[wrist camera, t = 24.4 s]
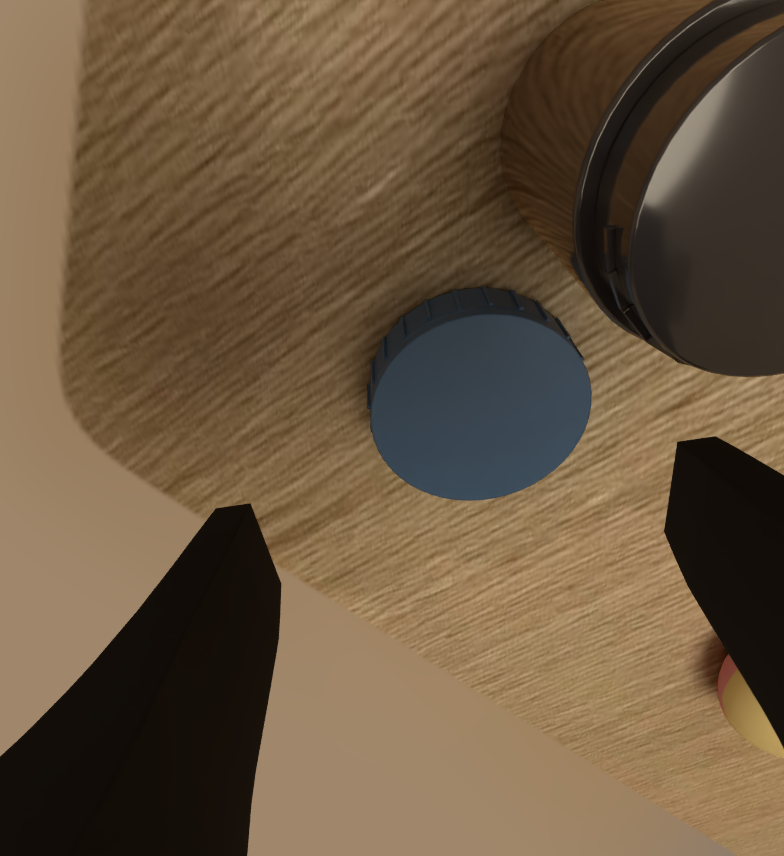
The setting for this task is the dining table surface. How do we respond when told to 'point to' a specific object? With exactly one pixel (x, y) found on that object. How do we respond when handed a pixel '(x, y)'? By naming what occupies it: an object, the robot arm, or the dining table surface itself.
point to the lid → (477, 395)
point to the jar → (663, 171)
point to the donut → (745, 710)
